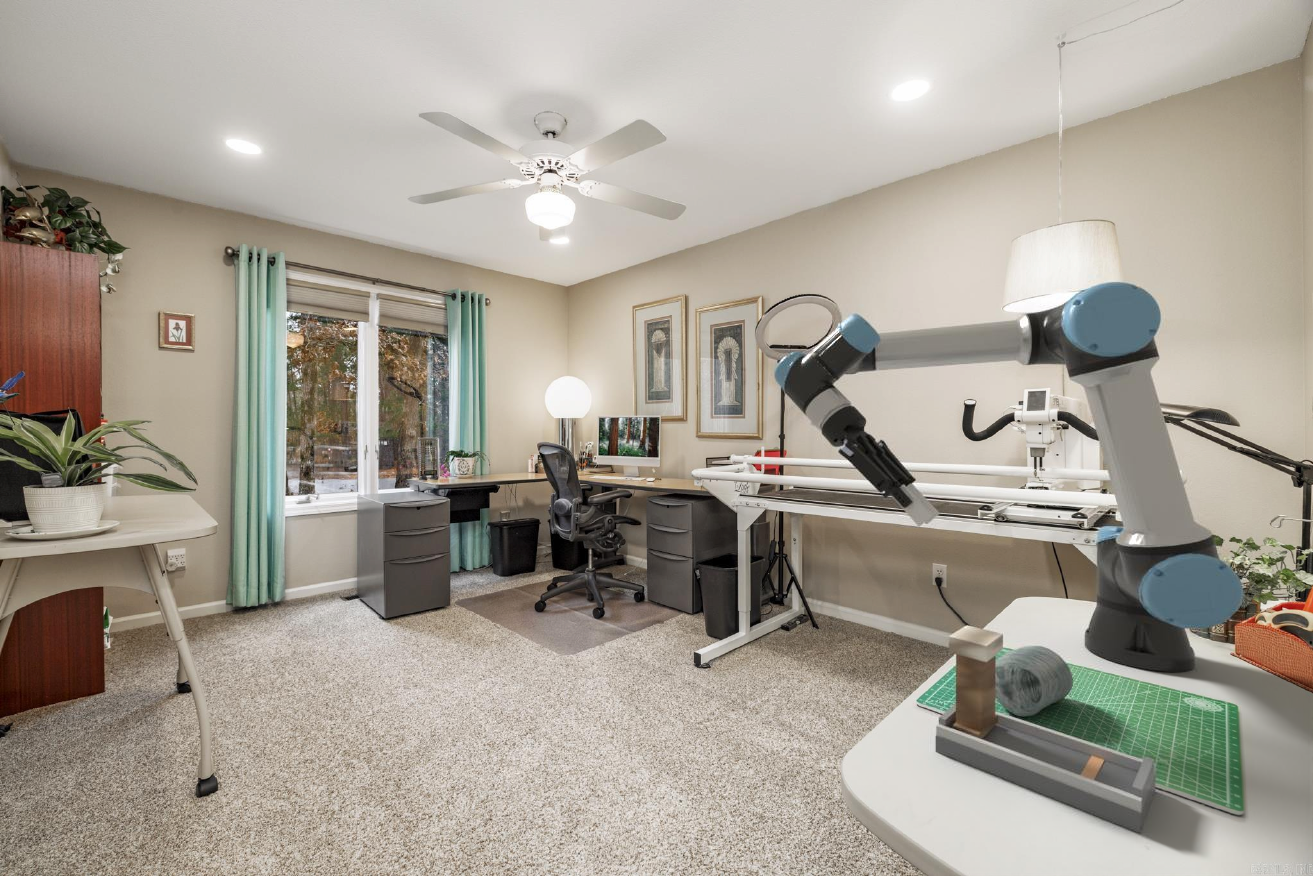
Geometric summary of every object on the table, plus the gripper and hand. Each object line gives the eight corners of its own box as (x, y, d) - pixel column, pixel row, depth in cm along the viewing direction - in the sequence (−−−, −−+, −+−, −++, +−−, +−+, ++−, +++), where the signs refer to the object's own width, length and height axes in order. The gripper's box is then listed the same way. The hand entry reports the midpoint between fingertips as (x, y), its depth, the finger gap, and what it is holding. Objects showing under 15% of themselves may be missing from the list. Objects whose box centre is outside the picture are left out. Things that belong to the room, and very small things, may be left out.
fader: (946, 730, 73) (947, 637, 73) (967, 712, 78) (967, 624, 77) (984, 744, 70) (985, 647, 69) (1003, 724, 74) (1004, 632, 74)
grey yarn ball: (1046, 713, 76) (1021, 634, 81) (981, 718, 83) (962, 645, 88) (1103, 716, 81) (1077, 642, 86) (1037, 720, 89) (1017, 652, 94)
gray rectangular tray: (935, 751, 73) (935, 720, 73) (965, 723, 79) (965, 695, 79) (1140, 833, 58) (1140, 794, 58) (1155, 790, 65) (1155, 755, 64)
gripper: (844, 432, 112) (931, 528, 100) (800, 433, 102) (891, 540, 90) (870, 404, 108) (964, 500, 96) (827, 402, 98) (926, 509, 86)
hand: (929, 519), depth 93 cm, fingers open, 2 cm apart
